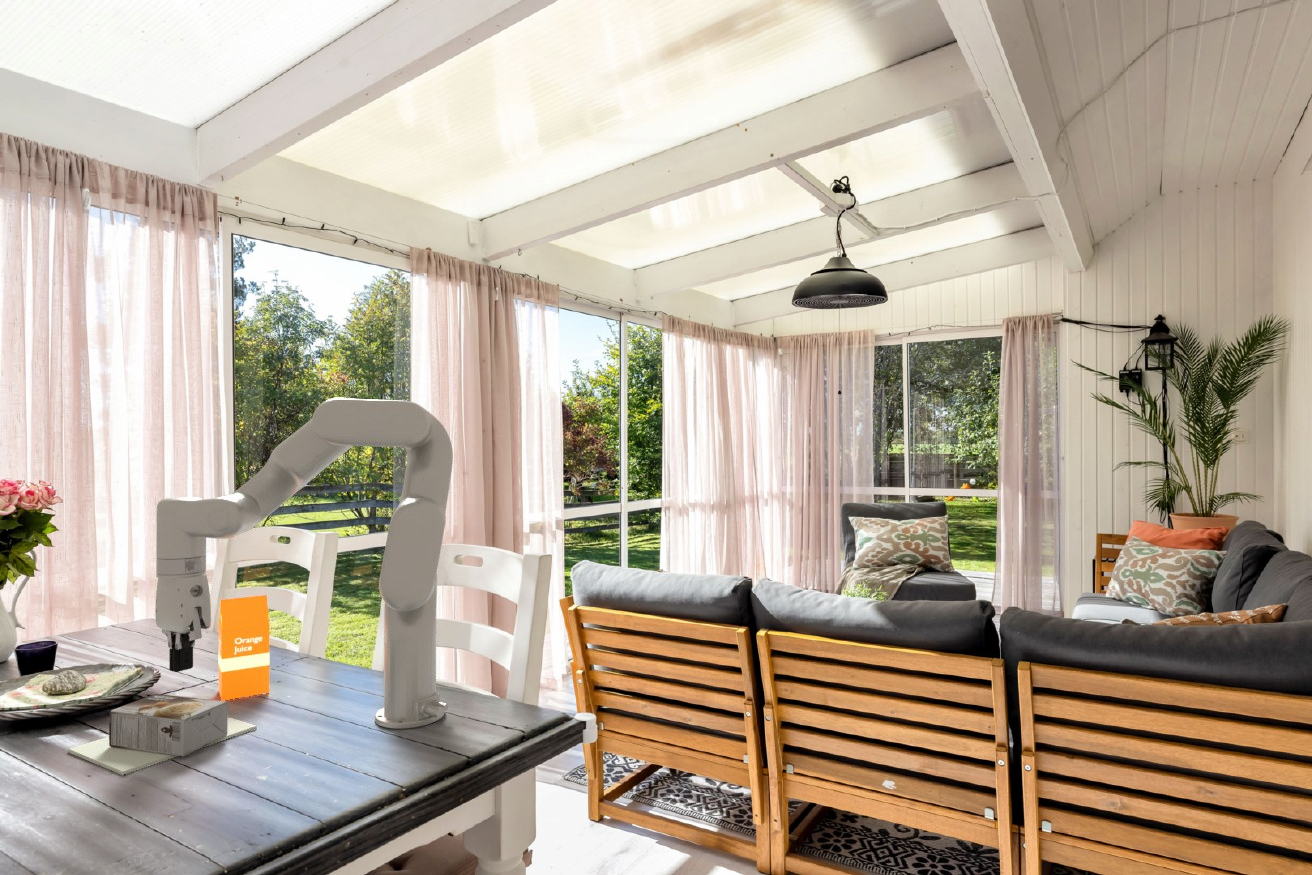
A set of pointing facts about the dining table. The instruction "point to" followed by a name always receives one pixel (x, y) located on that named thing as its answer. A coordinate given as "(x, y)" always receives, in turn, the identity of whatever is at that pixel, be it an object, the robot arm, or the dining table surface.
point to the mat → (135, 759)
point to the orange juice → (243, 647)
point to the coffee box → (168, 724)
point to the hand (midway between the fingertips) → (181, 669)
